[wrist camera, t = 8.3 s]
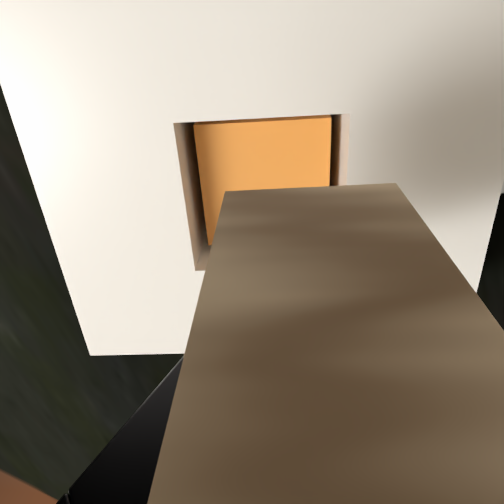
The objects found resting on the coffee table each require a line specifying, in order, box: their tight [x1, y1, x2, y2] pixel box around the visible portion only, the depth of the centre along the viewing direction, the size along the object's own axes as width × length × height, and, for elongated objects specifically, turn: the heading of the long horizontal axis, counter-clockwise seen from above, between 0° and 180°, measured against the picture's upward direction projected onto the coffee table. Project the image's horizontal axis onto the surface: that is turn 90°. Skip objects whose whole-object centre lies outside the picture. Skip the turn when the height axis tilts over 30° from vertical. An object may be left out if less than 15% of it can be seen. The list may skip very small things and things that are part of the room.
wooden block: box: [147, 183, 504, 504], centre depth 7 cm, size 4×4×9 cm
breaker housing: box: [0, 0, 504, 355], centre depth 17 cm, size 16×14×5 cm
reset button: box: [193, 115, 331, 245], centre depth 17 cm, size 5×5×3 cm
